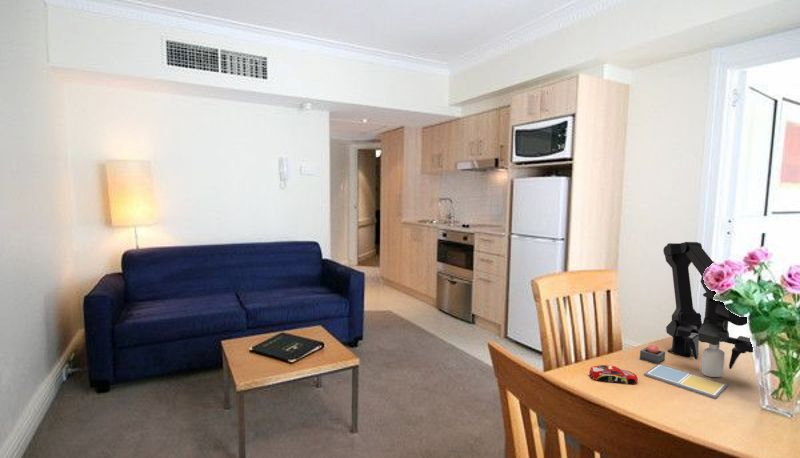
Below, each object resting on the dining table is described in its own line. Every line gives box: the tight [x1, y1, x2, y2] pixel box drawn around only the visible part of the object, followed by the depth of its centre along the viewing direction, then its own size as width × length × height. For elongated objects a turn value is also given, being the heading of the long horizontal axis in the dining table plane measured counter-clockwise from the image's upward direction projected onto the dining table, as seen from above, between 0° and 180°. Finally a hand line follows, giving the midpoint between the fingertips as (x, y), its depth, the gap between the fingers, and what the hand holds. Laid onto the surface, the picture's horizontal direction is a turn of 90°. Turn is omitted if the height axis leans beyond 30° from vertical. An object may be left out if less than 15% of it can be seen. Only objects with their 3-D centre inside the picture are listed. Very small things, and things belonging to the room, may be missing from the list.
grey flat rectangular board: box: [643, 363, 729, 400], centre depth 119 cm, size 12×18×1 cm, turn 38°
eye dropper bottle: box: [701, 342, 726, 378], centre depth 122 cm, size 4×6×12 cm
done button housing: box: [639, 346, 666, 365], centre depth 134 cm, size 6×6×3 cm
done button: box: [646, 344, 660, 354], centre depth 134 cm, size 3×3×2 cm
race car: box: [589, 364, 639, 385], centre depth 120 cm, size 13×5×4 cm, turn 77°
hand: (712, 363), depth 123 cm, fingers closed on eye dropper bottle, 8 cm apart
